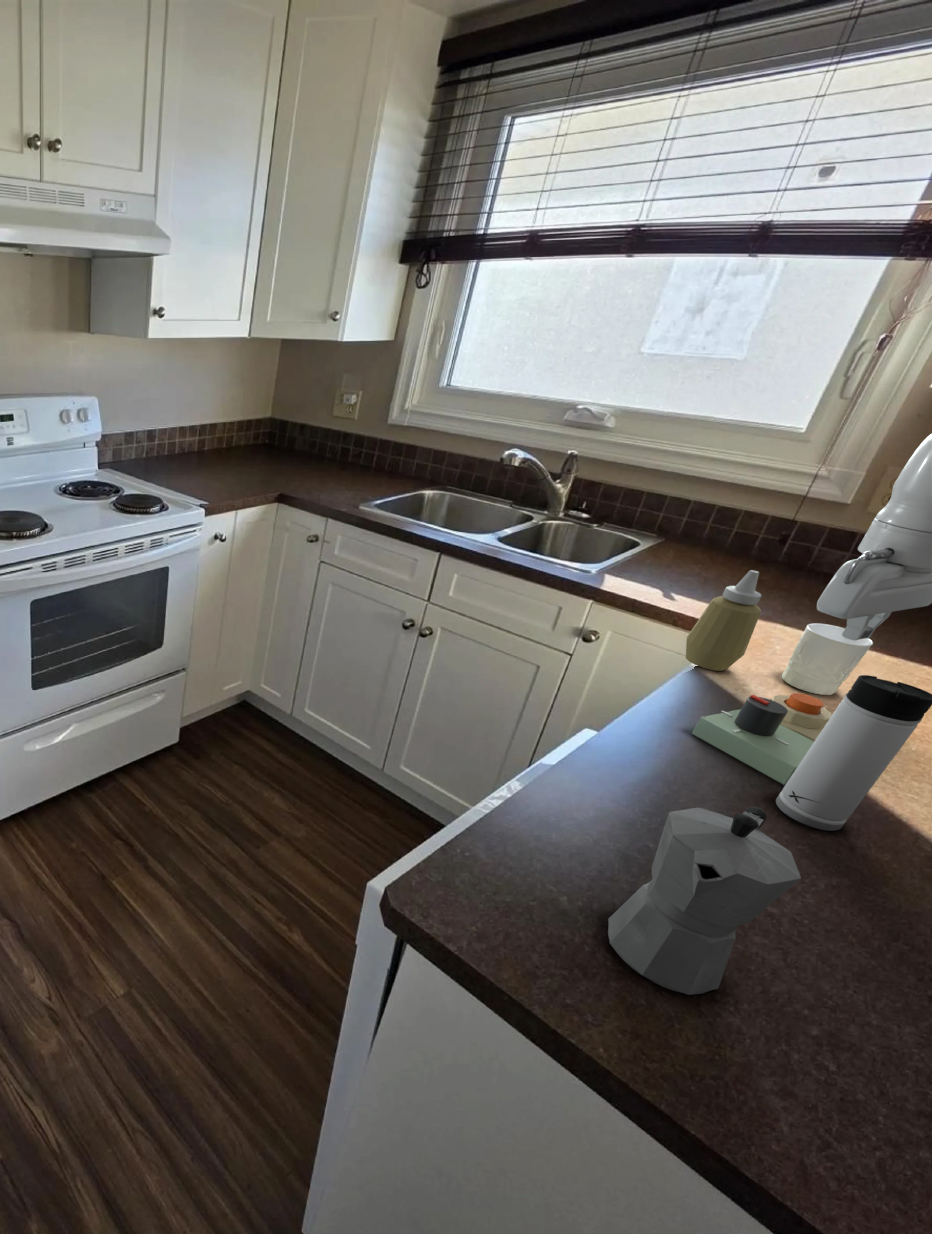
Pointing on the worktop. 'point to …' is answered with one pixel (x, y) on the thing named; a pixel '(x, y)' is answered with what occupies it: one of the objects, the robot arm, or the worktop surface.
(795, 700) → the power button
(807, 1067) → the worktop surface
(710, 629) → the squeeze bottle
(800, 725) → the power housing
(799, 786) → the travel mug
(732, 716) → the dial panel
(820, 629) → the white cup
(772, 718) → the timer dial
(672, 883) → the coffeepot
